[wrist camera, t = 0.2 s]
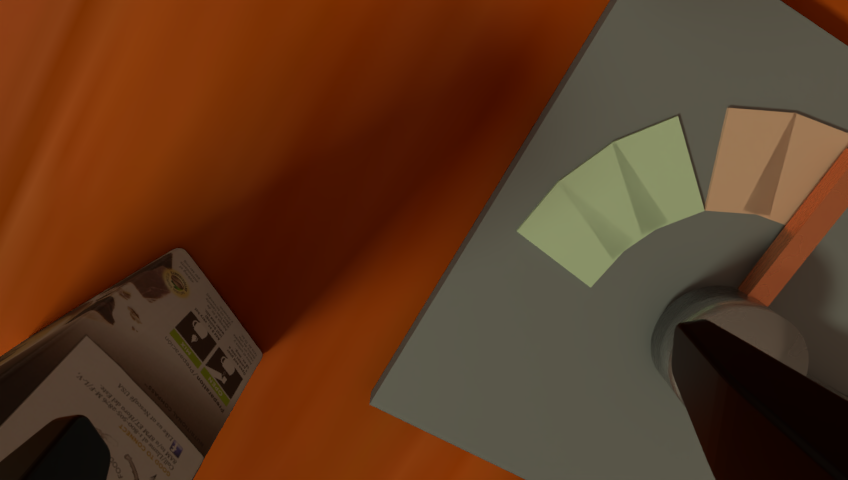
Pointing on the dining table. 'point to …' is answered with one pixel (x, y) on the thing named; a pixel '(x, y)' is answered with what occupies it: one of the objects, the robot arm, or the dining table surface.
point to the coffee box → (135, 371)
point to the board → (632, 241)
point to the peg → (762, 287)
